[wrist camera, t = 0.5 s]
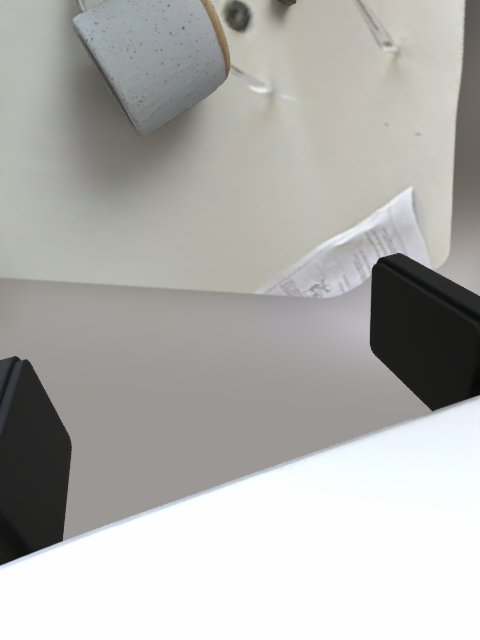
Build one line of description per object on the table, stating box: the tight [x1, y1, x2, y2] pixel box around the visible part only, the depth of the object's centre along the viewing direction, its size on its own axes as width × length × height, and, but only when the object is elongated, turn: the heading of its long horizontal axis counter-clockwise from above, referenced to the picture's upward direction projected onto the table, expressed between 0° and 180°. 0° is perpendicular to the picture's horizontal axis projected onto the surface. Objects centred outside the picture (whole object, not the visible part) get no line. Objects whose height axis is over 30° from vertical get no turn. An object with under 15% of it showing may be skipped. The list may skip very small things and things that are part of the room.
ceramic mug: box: [72, 0, 230, 138], centre depth 26 cm, size 11×8×8 cm
